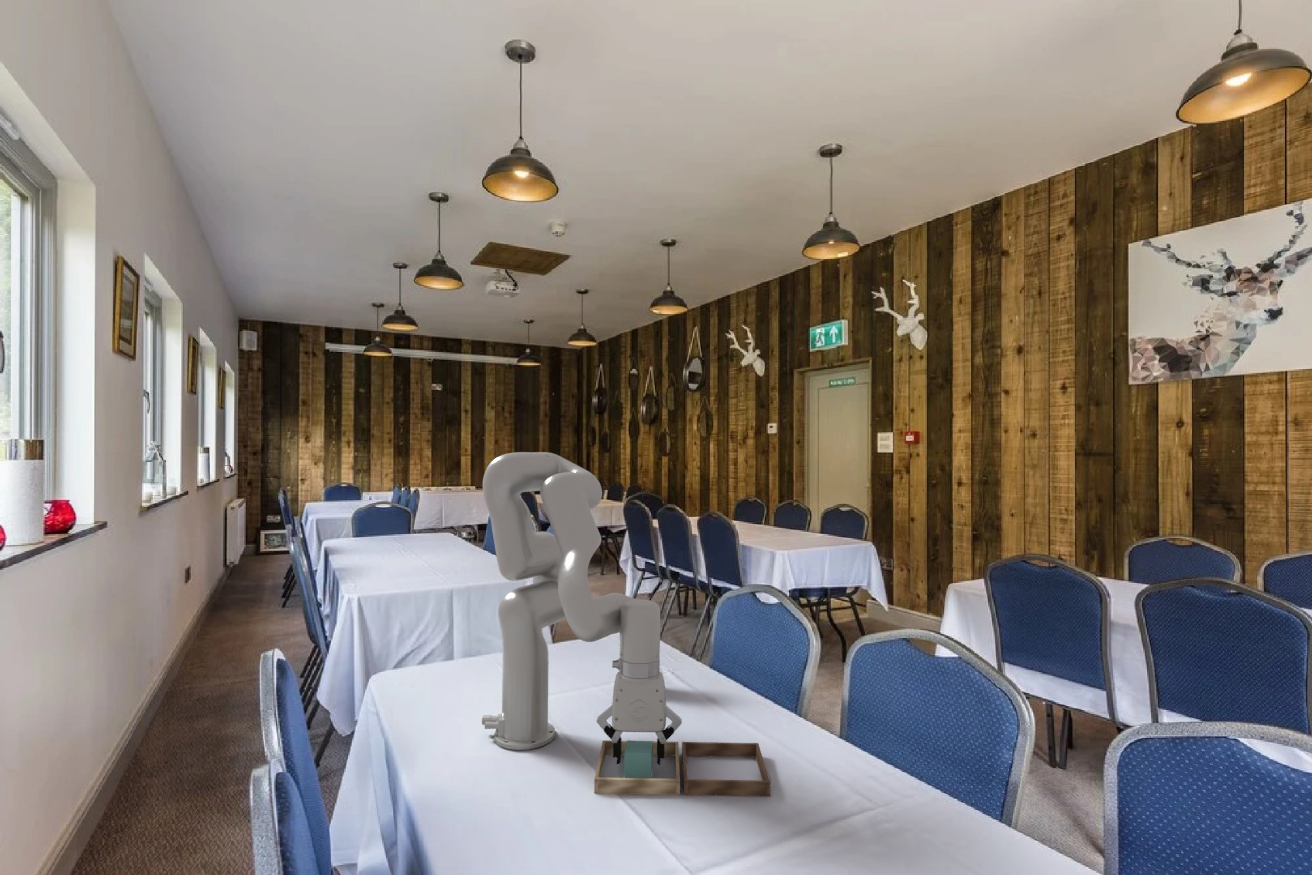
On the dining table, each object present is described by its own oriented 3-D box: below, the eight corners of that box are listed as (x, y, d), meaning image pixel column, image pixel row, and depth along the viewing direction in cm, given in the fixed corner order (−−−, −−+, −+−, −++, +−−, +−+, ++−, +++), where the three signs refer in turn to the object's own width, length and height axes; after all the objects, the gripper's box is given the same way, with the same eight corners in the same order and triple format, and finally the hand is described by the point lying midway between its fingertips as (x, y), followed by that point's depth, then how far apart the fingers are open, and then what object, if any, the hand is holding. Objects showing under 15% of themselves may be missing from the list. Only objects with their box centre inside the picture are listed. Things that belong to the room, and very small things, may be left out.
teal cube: (624, 779, 122) (624, 752, 122) (626, 766, 127) (627, 740, 127) (651, 780, 122) (651, 753, 122) (652, 767, 127) (652, 741, 127)
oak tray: (594, 793, 117) (594, 779, 117) (602, 752, 132) (602, 740, 132) (679, 794, 117) (679, 780, 117) (678, 754, 132) (678, 741, 132)
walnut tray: (684, 794, 117) (684, 780, 117) (682, 754, 132) (682, 741, 132) (770, 796, 117) (770, 782, 117) (758, 755, 132) (758, 743, 132)
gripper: (591, 673, 121) (590, 770, 121) (686, 674, 121) (685, 772, 121) (596, 659, 129) (595, 751, 129) (685, 661, 128) (684, 752, 128)
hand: (638, 760), depth 125 cm, fingers open, 7 cm apart
